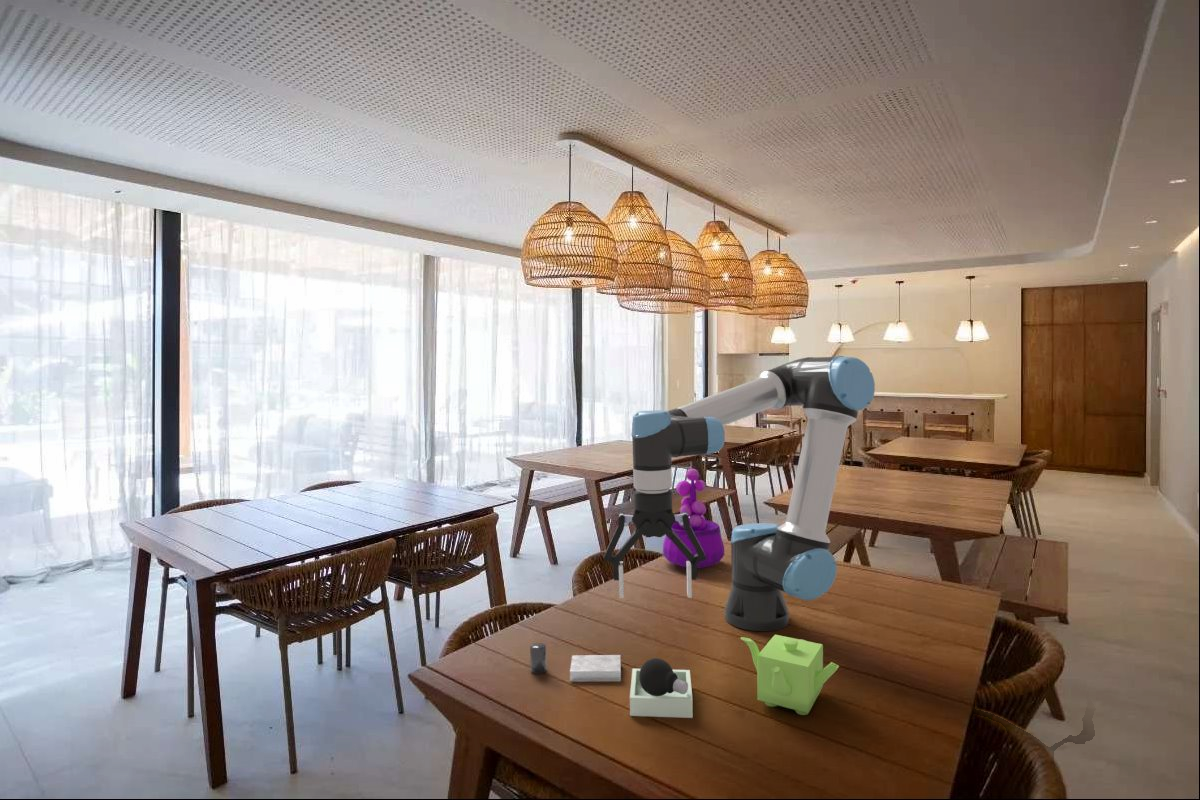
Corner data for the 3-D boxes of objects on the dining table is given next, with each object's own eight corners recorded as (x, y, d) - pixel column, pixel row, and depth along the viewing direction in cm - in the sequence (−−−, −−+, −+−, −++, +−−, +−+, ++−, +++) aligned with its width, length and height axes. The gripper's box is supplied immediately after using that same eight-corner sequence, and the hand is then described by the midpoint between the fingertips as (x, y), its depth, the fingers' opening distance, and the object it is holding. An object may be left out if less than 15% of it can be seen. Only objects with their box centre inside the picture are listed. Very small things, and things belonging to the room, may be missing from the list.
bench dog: (547, 666, 133) (547, 643, 133) (544, 674, 130) (544, 649, 130) (532, 666, 134) (531, 642, 133) (529, 673, 131) (528, 649, 130)
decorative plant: (660, 573, 192) (659, 473, 190) (664, 555, 210) (663, 463, 208) (725, 575, 189) (724, 474, 187) (723, 557, 207) (723, 464, 205)
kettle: (773, 728, 110) (773, 664, 109) (735, 688, 123) (734, 631, 123) (850, 714, 113) (850, 652, 113) (804, 677, 127) (804, 621, 127)
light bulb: (681, 672, 112) (635, 654, 119) (675, 710, 111) (629, 690, 118) (700, 669, 117) (655, 652, 124) (694, 706, 116) (649, 687, 123)
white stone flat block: (620, 666, 134) (620, 654, 134) (620, 683, 127) (620, 671, 127) (572, 667, 134) (572, 655, 134) (570, 683, 127) (569, 671, 127)
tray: (689, 686, 124) (689, 670, 124) (692, 717, 113) (692, 699, 113) (632, 685, 125) (632, 668, 125) (630, 715, 114) (629, 697, 114)
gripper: (714, 484, 130) (716, 588, 131) (591, 486, 132) (594, 589, 133) (718, 492, 122) (720, 602, 124) (588, 494, 124) (591, 602, 125)
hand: (655, 595), depth 128 cm, fingers open, 13 cm apart
